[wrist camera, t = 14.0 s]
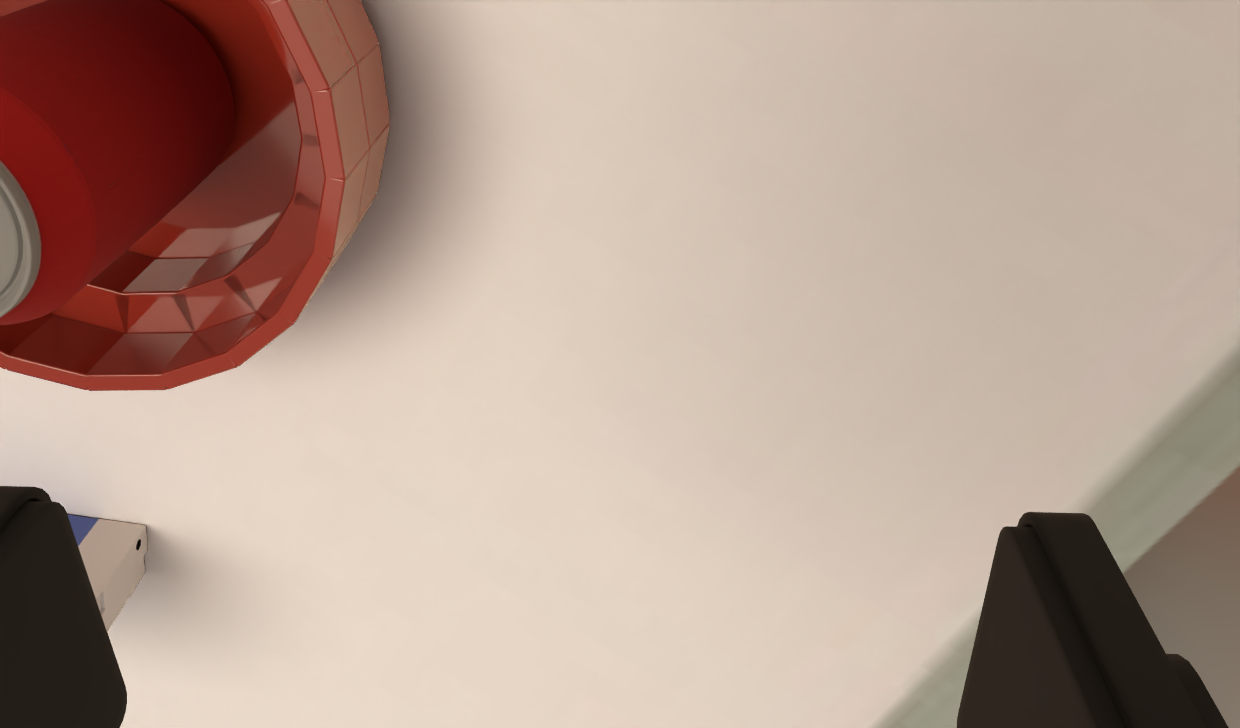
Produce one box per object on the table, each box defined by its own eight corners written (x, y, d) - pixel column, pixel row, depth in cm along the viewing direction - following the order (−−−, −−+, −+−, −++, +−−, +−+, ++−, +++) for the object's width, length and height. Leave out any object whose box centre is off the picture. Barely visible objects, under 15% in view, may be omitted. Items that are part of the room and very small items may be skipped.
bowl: (-183, -184, 31) (-368, -175, 26) (352, -203, 31) (282, -198, 25) (-8, 304, 39) (-120, 393, 34) (421, 298, 39) (380, 388, 33)
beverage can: (-4, 85, 34) (-294, 221, 24) (108, -68, 32) (-161, 8, 22) (169, 226, 37) (-28, 406, 26) (286, 92, 34) (120, 232, 24)
